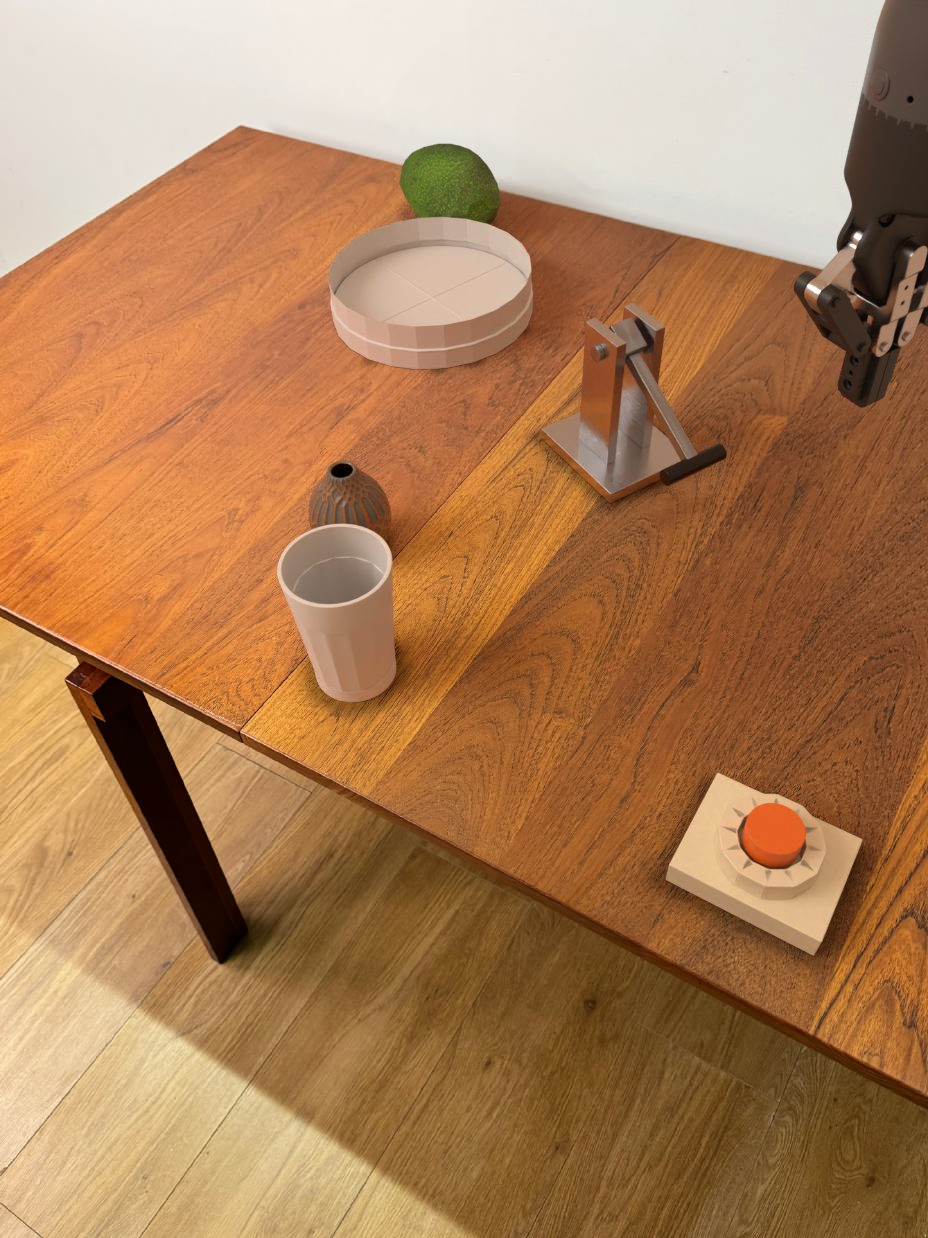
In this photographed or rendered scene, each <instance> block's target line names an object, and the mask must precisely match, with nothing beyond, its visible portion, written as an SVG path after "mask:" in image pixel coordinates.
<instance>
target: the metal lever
mask: <svg viewBox="0 0 928 1238" xmlns="http://www.w3.org/2000/svg"><path fill="white" fill-rule="evenodd" d="M608 328H609V329H610V330H611V331H613V332H614V333H615V334H616V335H618V336H619V337H620V338H621V339H623V340H624V341H625V342H626V343H627V344H626V354H625V363H626V365H627V366H628V368H629V370H630V372H631V373H632V375H633V377H634V379H635V380H636V382H637V384H638V386H639V388H640V389H641V391H642V393H643V395H644V396H645V398H646V400H647V402H648V403H649V405H650V407H651V409H652V410H653V412H654V417H655V418H656V419H657V421H658V422H659V425H660V426H661V428H662V430H663V432H664V433H665V436H667V437H668V439H669V440H670V442H671V444H672V446H673V447H674V449H675V451H676V453H677V454H678V456H679V458H680V460H681V461H680V462H677V463H675V464H673V465H671V466H669V467H667V468H665V469H662V470H661V471H660V479H661V480H660V482H661V483H662V484H663V485H664V486H666V487H669V486H672V485H673V484H676V483H678V482H680V481H682V480H684V479H686V478H688V477H690V476H693V475H695V474H697V473H699V472H701V471H703V470H705V469H707V468H709V467H711V466H714V465H715V464H717V463H720V462H722V461H724V460H725V459H726V458H727V455H728V454H727V453H728V452H727V450H726V448H725V446H724V445H723V444H721V443H716V444H713V445H712V446H709V447H706V448H705V449H703V450H701V451H699V452H697V451H696V448H694V445H693V444H692V442H691V440H690V439H689V437H688V435H687V434H686V433H687V432H686V431H685V430H684V428H683V426H682V425H681V423H680V421H679V419H678V418H677V416H676V414H675V411H673V408H672V407H671V405H670V403H669V402H668V400H667V398H666V396H665V395H664V393H663V391H662V389H661V388H660V386H659V383H658V384H657V382H656V381H655V379H654V377H653V375H652V374H651V372H650V370H649V368H648V367H647V365H646V363H645V361H644V360H643V358H642V356H641V354H640V353H641V352H642V351H643V350H644V348H645V347H646V346H647V344H646V342H645V340H644V338H643V337H642V335H641V333H640V331H639V330H638V328H637V326H636V324H635V323H634V321H633V319H632V317H630V318H628V319H625V320H623V319H622V320H620V321H617V322H615V323H613V324H611V325H610V326H608Z"/></svg>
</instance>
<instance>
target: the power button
mask: <svg viewBox="0 0 928 1238" xmlns="http://www.w3.org/2000/svg"><path fill="white" fill-rule="evenodd" d="M805 838H806V829H805V826H804V823H803V821H802V819H801V818H800V817H799V815H798V814H797V813H796V812H794V811H793V810H792V809H790V808H788V807H787V806H784V805H781V804H777V803H765V804H761V805H759V806H757V807H755V808H754V809H753V810H752V811H751V812H750V813H749V815H748V817H747V820H746V823H745V826H744V829H743V832H742V842H743V846H744V848H745V850H746V852H747V853H748V854H749V855H750V857H752V858H753V859H754V860H755V861H757V862H758V863H760V864H762V865H765V866H768V867H783V866H786V865H788V864H790V863H792V862H793V861H794V860H795V859H796V858H797V856H798V854H799V852H800V850H801V848H802V846H803V844H804V841H805Z"/></svg>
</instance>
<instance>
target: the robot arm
mask: <svg viewBox="0 0 928 1238" xmlns="http://www.w3.org/2000/svg"><path fill="white" fill-rule="evenodd" d="M863 77H864V78H863V82H862V87H861V90H860V96H859V101H858V105H857V110H856V114H855V118H854V121H853V126H852V132H851V136H850V140H849V144H848V149H847V153H846V158H845V163H844V167H843V178H844V182H845V184H846V187H847V190H848V194H849V196H850V202H851V208H850V211H849V213H848V215H847V218H846V220H845V222H844V224H843V226H842V227H841V229H840V230H839V233H838V235H837V238H836V252H837V253H836V254H835V256H833V258H831V260H830V261H829V262H828V263H827V264H826V266H824V268H823V269H822V270H821V271H820V272H819V273H818V274H815V273H814V272H812V271H810V270H805V271H803V272H802V273H800V274H799V275H798V276H797V278H796V279H795V281H794V284H793V292H794V293H795V295H796V297H797V298H798V300H799V301H800V303H801V304H802V306H803V308H804V309H805V311H806V313H807V314H808V316H809V317H810V319H811V321H812V323H814V325H815V327H816V328H817V330H818V331H819V333H820V335H821V336H822V338H824V339H826V340H828V341H829V342H831V343H832V344H834V345H835V346H837V347H838V348H840V349H841V350H843V351H844V352H845V354H844V357H843V361H842V365H841V370H840V372H839V377H838V380H837V384H836V385H837V390H838V391H839V393H840V395H841V396H842V397H844V398H845V399H847V400H848V401H849V402H851V403H852V404H854V405H855V406H857V407H858V408H861V409H863V408H866V407H868V406H870V405H872V404H874V403H876V402H879V401H881V400H882V399H884V398H885V396H886V393H887V390H888V387H889V384H890V383H891V381H892V379H893V376H894V372H895V369H896V364H897V363H898V360H899V356H900V353H901V349H902V347H905V346H907V345H908V344H909V343H910V342H911V340H912V339H913V338H914V336H915V334H916V330H917V328H918V327H919V325H921V324H922V325H924V326H925V327H928V0H884V2H883V5H882V8H881V11H880V14H879V17H878V20H877V22H876V26H875V30H874V34H873V37H872V42H871V46H870V52H869V56H868V60H867V65H866V68H865V73H864V76H863Z"/></svg>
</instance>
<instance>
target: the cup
mask: <svg viewBox="0 0 928 1238" xmlns="http://www.w3.org/2000/svg"><path fill="white" fill-rule="evenodd" d="M276 574H277V580H278V582H279V585H280V588H281V590H282V592H283V595H284V597H285V599H286V603H287V604H288V608H289V610H290V612H291V614H292V616H293V619H294V622H295V624H296V626H297V627H296V628H297V630H298V632H299V635H300V637H301V640H302V642H303V645H304V647H305V651H306V652H307V655H308V658H309V660H310V663H311V666H312V668H313V671H314V674H315V679H316V682H317V684H318V687H319V688H320V689H321V690H322V692H323V693H324V694H326V695H327V696H329V697H330V698H332V699H333V700H336V701H338V702H339V701H340V702H344V703H360V702H361V703H362V702H365V701H368V700H371V699H374V698H376V697H377V696H379V695H381V694H382V693H383V692H385V691H386V690H387V689H388V688H389V687H390V686H391V685H392V683H393V681H394V679H395V677H396V674H397V659H396V651H395V647H396V646H395V621H394V619H395V618H394V588H393V587H394V581H393V580H394V578H393V576H394V574H393V555H392V551H391V549H390V546H389V545H388V543H387V541H386V542H385V540H384V539H383V538H382V537H381V536H379V535H378V534H377V533H375V532H373V531H372V530H369V529H367V528H365V527H361V526H358V525H352V524H331V525H325V526H321V527H318V528H315V529H312V530H311V529H309V530H307V531H305V532H304V533H302V534H300V535H298V536H297V537H296V538H295V539H293V540H292V541H291V542H290V543H289V544H288V545H287V546H286V547H285V549H284V550H283V551H282V553H281V554H280V557H279V559H278V562H277V567H276Z"/></svg>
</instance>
